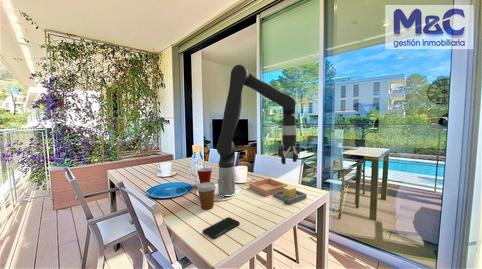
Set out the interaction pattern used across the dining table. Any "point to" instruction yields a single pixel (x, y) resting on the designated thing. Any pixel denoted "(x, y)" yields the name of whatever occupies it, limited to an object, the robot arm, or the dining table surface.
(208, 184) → the disposable coffee cup
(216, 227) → the phone
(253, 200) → the dining table surface
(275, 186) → the terracotta dish
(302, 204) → the dining table surface
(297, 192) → the charcoal tray
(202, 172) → the plastic cup
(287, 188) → the ochre cube
